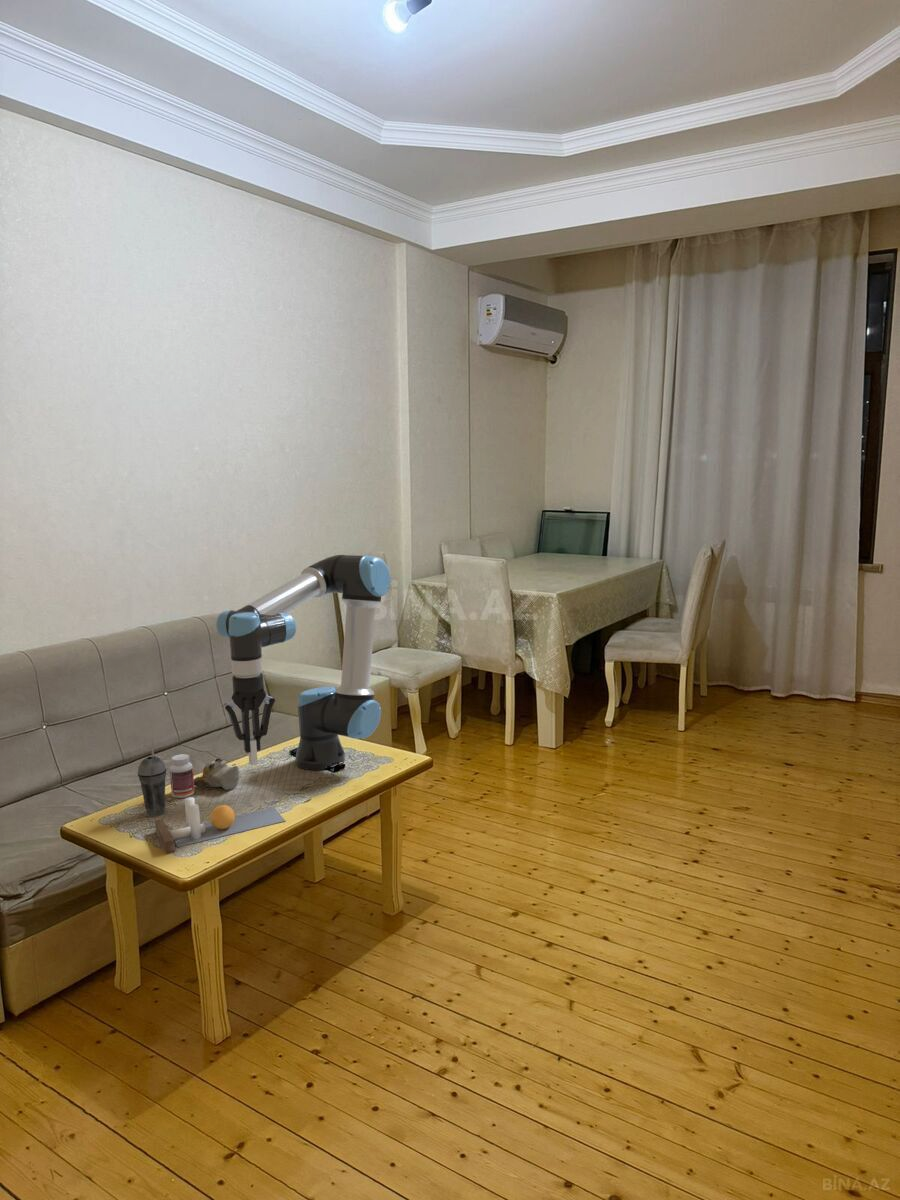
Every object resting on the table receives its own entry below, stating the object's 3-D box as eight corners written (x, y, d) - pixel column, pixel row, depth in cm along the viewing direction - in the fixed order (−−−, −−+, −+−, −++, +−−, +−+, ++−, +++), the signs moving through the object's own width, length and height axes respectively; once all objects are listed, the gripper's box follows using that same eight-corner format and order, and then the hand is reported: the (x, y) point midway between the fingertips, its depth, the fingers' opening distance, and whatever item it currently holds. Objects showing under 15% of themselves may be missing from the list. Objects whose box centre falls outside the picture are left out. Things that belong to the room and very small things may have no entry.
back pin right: (195, 827, 204) (193, 796, 202) (197, 831, 202) (195, 799, 200) (186, 830, 203) (183, 798, 201) (188, 833, 201) (185, 801, 199)
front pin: (203, 821, 202) (168, 829, 198) (205, 824, 200) (169, 833, 196) (203, 830, 202) (168, 839, 198) (205, 834, 200) (170, 842, 196)
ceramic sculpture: (223, 766, 222) (183, 762, 228) (226, 796, 223) (186, 791, 230) (248, 754, 231) (209, 750, 238) (251, 783, 232) (212, 778, 239)
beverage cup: (135, 816, 211) (128, 744, 208) (154, 805, 218) (148, 735, 215) (156, 820, 209) (150, 747, 206) (175, 809, 215) (170, 738, 212)
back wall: (164, 829, 203) (163, 818, 203) (174, 851, 191) (173, 840, 191) (155, 831, 202) (154, 820, 202) (166, 853, 190) (165, 842, 190)
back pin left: (200, 835, 199) (197, 803, 198) (202, 839, 197) (199, 806, 196) (190, 837, 198) (187, 805, 197) (192, 841, 196) (189, 808, 195)
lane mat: (273, 807, 215) (273, 807, 215) (285, 821, 206) (285, 820, 206) (169, 831, 202) (169, 831, 202) (177, 847, 193) (177, 846, 193)
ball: (203, 812, 203) (215, 828, 205) (209, 821, 198) (222, 838, 200) (223, 796, 205) (235, 813, 207) (229, 805, 200) (242, 822, 202)
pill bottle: (199, 793, 226) (196, 756, 224) (179, 800, 221) (176, 762, 219) (187, 788, 230) (184, 751, 228) (167, 795, 225) (164, 757, 223)
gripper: (268, 667, 208) (273, 754, 212) (217, 674, 202) (224, 764, 205) (277, 673, 201) (282, 762, 205) (225, 681, 195) (231, 773, 199)
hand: (253, 763), depth 205 cm, fingers closed
